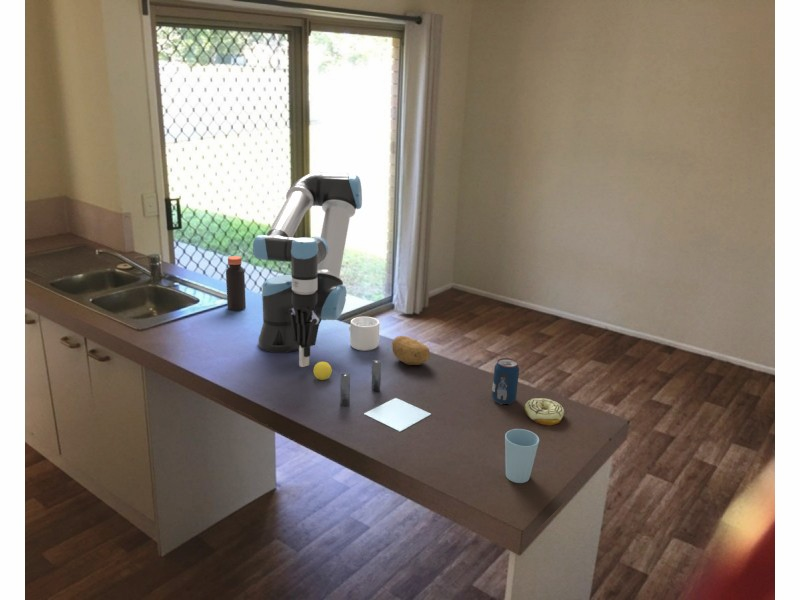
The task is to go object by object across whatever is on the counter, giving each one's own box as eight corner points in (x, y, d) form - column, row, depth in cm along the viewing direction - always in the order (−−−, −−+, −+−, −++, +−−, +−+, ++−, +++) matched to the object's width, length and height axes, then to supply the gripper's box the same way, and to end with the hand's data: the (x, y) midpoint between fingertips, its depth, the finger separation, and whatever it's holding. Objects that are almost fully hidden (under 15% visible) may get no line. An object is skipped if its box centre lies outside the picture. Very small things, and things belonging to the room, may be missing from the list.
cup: (535, 487, 148) (540, 447, 145) (501, 484, 149) (505, 444, 146) (533, 469, 155) (537, 430, 152) (500, 465, 156) (504, 427, 153)
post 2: (369, 389, 191) (370, 361, 188) (375, 387, 192) (376, 359, 189) (376, 392, 189) (377, 364, 186) (382, 389, 191) (383, 361, 188)
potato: (416, 374, 201) (417, 351, 199) (384, 360, 211) (385, 337, 208) (437, 366, 208) (438, 343, 206) (405, 352, 217) (406, 330, 215)
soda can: (511, 394, 192) (515, 356, 188) (519, 405, 185) (523, 366, 181) (488, 395, 191) (492, 357, 187) (495, 406, 184) (499, 367, 180)
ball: (309, 378, 196) (309, 362, 194) (323, 373, 200) (323, 356, 198) (322, 384, 192) (322, 367, 190) (335, 379, 196) (335, 362, 194)
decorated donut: (528, 426, 175) (529, 413, 174) (521, 407, 185) (522, 395, 184) (566, 427, 175) (568, 415, 174) (557, 408, 185) (559, 396, 184)
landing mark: (363, 414, 177) (363, 413, 177) (395, 398, 186) (395, 397, 186) (399, 431, 169) (400, 431, 169) (431, 414, 178) (431, 413, 178)
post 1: (338, 404, 181) (338, 375, 178) (344, 401, 183) (345, 372, 180) (344, 407, 180) (345, 378, 177) (351, 404, 182) (352, 375, 179)
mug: (364, 336, 229) (365, 312, 226) (388, 344, 223) (389, 319, 221) (342, 346, 220) (343, 321, 217) (366, 354, 214) (367, 329, 211)
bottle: (236, 312, 246) (234, 261, 239) (223, 308, 249) (221, 257, 243) (249, 307, 251) (247, 257, 245) (237, 303, 255) (234, 254, 248)
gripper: (280, 288, 193) (281, 362, 200) (308, 298, 185) (308, 375, 192) (300, 284, 199) (300, 356, 205) (328, 293, 190) (327, 368, 197)
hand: (304, 365), depth 199 cm, fingers closed
